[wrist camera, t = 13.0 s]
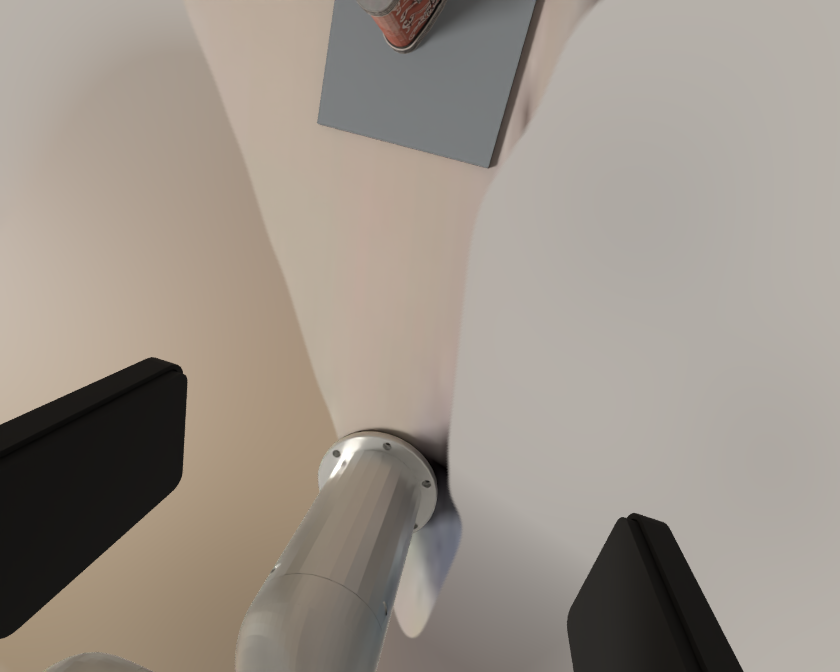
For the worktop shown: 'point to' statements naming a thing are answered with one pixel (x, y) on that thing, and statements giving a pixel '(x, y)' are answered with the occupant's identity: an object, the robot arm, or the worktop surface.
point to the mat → (426, 78)
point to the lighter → (403, 20)
